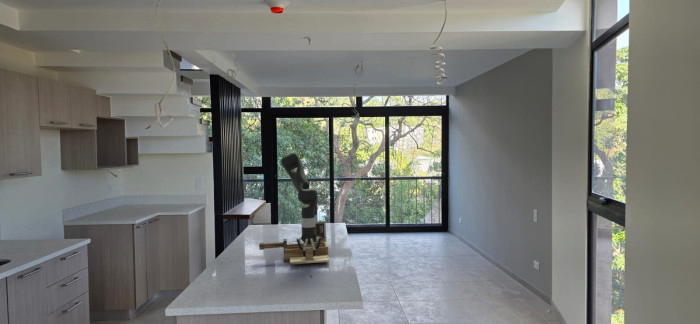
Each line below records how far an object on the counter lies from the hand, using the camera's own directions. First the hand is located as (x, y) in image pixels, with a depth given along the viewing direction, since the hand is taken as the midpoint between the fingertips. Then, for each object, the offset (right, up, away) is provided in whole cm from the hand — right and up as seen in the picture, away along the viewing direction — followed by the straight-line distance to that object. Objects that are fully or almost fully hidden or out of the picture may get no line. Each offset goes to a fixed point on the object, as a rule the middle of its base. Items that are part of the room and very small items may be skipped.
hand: (309, 256), depth 212 cm
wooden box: (-3, -4, +13) cm, 14 cm away
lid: (0, -2, 0) cm, 2 cm away
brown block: (-22, +2, +9) cm, 24 cm away
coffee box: (+3, -3, +33) cm, 33 cm away
